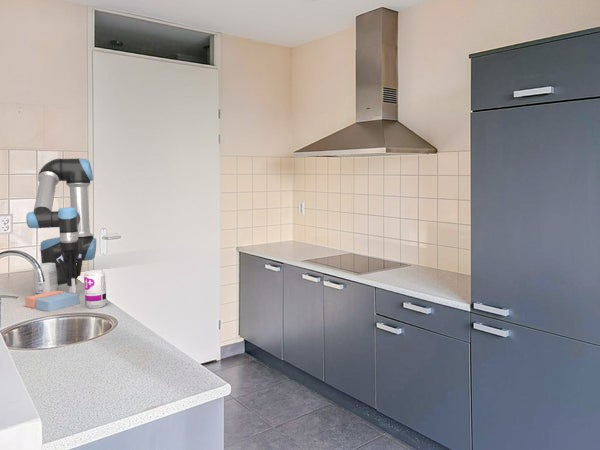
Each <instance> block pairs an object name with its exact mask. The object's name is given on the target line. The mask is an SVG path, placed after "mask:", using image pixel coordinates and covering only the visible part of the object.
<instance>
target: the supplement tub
mask: <svg viewBox="0 0 600 450" xmlns="http://www.w3.org/2000/svg"><path fill="white" fill-rule="evenodd" d="M39 264H40V266H41V268H42V271H43V274H44V277H45V282H44V283H40V282H38V277H37V273H36V270H35V268H34V267H33V266H32V271H33V283H34V293H35V294H34V295H38V294H42V293H47V292H51V291H56V290H57V291H59V284H58V282H57V270H56V264H55V263H42V262H41V263H39Z"/></svg>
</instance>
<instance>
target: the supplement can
mask: <svg viewBox="0 0 600 450" xmlns="http://www.w3.org/2000/svg"><path fill="white" fill-rule="evenodd" d="M83 287H84V299H85V300H84V301H85V307H86V308H88V309H100V308H103V307H106V305H107V304H108V303H107V289H106V288H107V287H106V273H105V272H104V270H103V269H92V270H87V271H85V272H84V275H83Z"/></svg>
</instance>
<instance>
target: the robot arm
mask: <svg viewBox="0 0 600 450" xmlns="http://www.w3.org/2000/svg"><path fill="white" fill-rule="evenodd" d="M37 180H38V185H37V186H38V187H37V193H36V197H35V203H34V207H33V211H29V212H27V213H26V217H25V219H26V226H27V228H29V229H46V228H47V229H48V228H58V229H59V237H53V238H48V239H45V240H42V241H41V242H40V248H39V251H40V259H41V260H40V261H41V263H55V264H56V270H57V282H58V285H61V284H66V283H67V284H66V285H67V287H68V290H69V292H68V293H73V294H77V293H76V292H77V291H76V289H77V288H76V286H77V285H78V284H77V283H78V282H77V279H79V277H80V276H81V274H82V267H83V261H84V262H86V261H92V260H93V259H95V257H96V251H97V238H96V237H94V234H93V233H92V232H91V231H90V229H91V227H90V226H91V225H90V211H89V192H88V187H89V186H90V185H91V182H92V181H93V180H94V174H93V169H92V166H91V162H90V160H89V159H88V158H55V159H51V160H50V161H48V162H47V163H46V164H44V165H43V166H42V167H41V169H40V170H39V172H38V176H37ZM59 182H65V185H66V186H68V187H69V197H70V198H69V201H70V207H59V208H58V210H57V211H53V205H54V198H55V194H56V188H57V185H58V184H59Z"/></svg>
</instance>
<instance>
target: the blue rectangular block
mask: <svg viewBox="0 0 600 450" xmlns="http://www.w3.org/2000/svg"><path fill="white" fill-rule="evenodd" d="M80 303H81V301H80V294H77V293H69V292H66V291H65V292H64V293H62V294H58V295H53V296H49V297H45V298H40V299H36V308H35V309H36V310H39V311H44V312H47V313H48V312H53V311H56V310H57V311H58V310H61V309H65V308H69V307H72V306H77V305H80Z"/></svg>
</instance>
